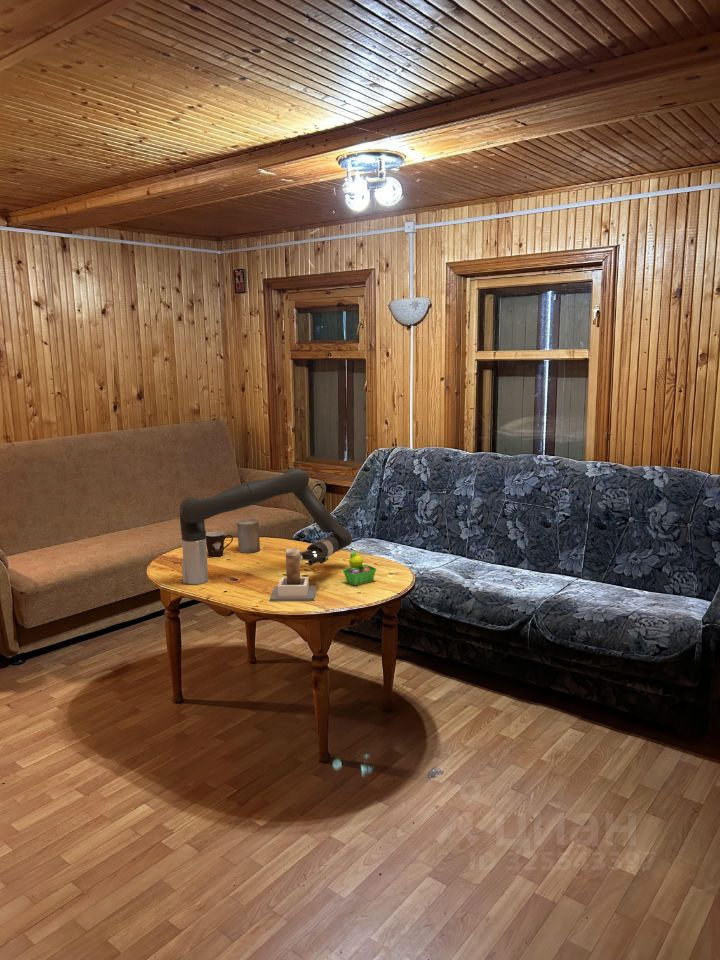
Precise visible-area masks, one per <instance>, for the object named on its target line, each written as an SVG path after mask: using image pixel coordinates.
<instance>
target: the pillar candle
mask: <svg viewBox="0 0 720 960" xmlns="http://www.w3.org/2000/svg"><path fill="white" fill-rule="evenodd" d="M236 526H237V527H236V528H237V541H238V543H237V545H238V546H237V547H238V552H239V553H241V552H242V554H253V553H257V552H260V550H261V544H260V543H261V541H260V523H259V520H258V519H256V518H244V519H240V520H237V522H236Z"/></svg>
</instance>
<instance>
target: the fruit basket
mask: <svg viewBox="0 0 720 960" xmlns="http://www.w3.org/2000/svg"><path fill="white" fill-rule="evenodd" d="M349 555H350V558H349V563H348V564H349V566H350V567H349V568H345V569H343V570H342V571H343V574H344V577H345V580H346V583H348V584H350V585H352V586H358V585H361V584H366V583H370V582H373V581H374V577H375V574H376V571H377V568H376V567H373V566H371V565H368V564H363V563H364V559H363V557H361V556H360V554H359V553H357V552H356V551H353V552H351V553H350V554H349Z"/></svg>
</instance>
